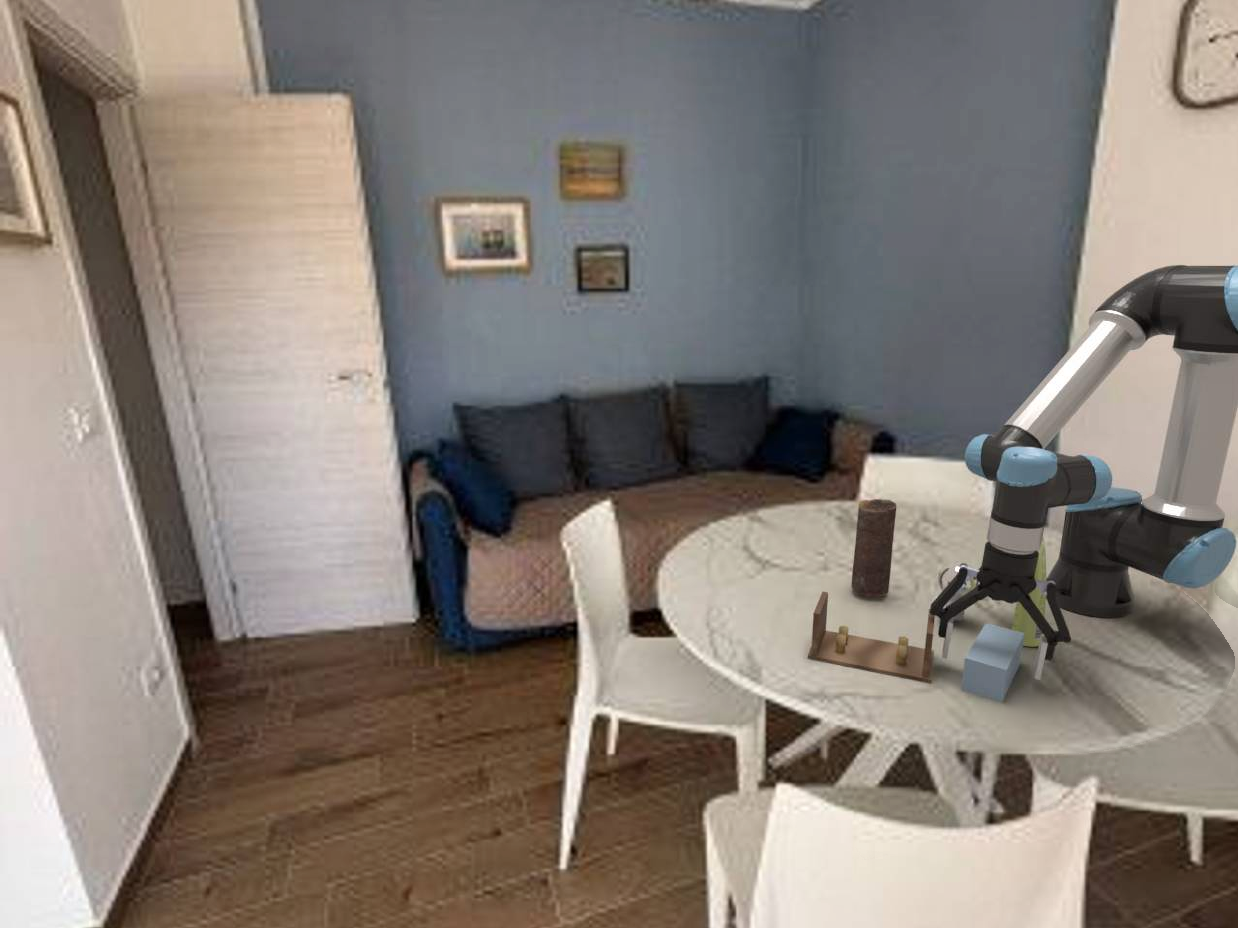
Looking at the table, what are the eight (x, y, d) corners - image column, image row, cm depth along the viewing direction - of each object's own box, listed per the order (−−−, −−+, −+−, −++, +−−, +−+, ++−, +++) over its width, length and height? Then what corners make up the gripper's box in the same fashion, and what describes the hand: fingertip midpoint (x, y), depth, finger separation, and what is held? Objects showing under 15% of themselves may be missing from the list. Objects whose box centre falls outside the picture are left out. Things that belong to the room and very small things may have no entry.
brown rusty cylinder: (891, 603, 147) (899, 509, 141) (852, 600, 148) (859, 507, 143) (885, 586, 154) (893, 496, 149) (849, 584, 156) (855, 495, 150)
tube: (1002, 633, 135) (1015, 534, 129) (1028, 631, 135) (1043, 532, 130) (1021, 649, 129) (1036, 546, 124) (1048, 647, 130) (1064, 544, 124)
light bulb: (950, 632, 135) (957, 572, 132) (926, 615, 142) (932, 558, 139) (982, 626, 137) (989, 567, 134) (956, 610, 144) (963, 553, 140)
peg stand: (933, 653, 129) (938, 609, 126) (931, 682, 120) (936, 636, 117) (817, 631, 137) (820, 589, 134) (807, 658, 128) (810, 613, 126)
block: (1020, 664, 125) (1024, 633, 123) (1001, 703, 114) (1006, 669, 113) (982, 653, 129) (986, 623, 127) (960, 690, 118) (965, 657, 116)
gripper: (1101, 552, 113) (1074, 672, 119) (927, 524, 123) (910, 636, 129) (1109, 570, 106) (1080, 696, 112) (925, 539, 116) (907, 656, 122)
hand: (989, 665), depth 121 cm, fingers open, 13 cm apart
